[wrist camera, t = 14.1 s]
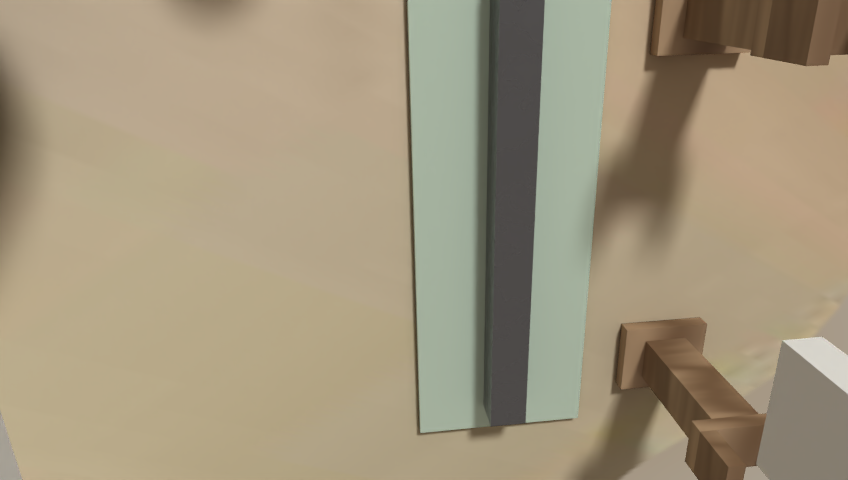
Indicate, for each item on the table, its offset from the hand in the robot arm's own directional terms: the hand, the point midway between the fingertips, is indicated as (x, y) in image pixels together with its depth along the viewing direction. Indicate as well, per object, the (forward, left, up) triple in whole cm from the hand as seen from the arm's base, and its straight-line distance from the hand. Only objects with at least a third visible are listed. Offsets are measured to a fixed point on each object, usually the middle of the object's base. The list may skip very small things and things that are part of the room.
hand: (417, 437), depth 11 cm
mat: (+9, -7, -31) cm, 33 cm away
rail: (+9, -7, -30) cm, 32 cm away
